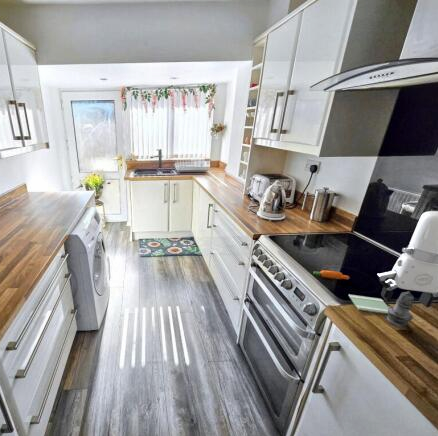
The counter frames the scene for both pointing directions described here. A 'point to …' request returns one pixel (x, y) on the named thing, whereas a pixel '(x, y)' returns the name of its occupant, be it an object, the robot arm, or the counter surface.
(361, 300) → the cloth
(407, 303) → the grey chess piece
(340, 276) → the carrot
